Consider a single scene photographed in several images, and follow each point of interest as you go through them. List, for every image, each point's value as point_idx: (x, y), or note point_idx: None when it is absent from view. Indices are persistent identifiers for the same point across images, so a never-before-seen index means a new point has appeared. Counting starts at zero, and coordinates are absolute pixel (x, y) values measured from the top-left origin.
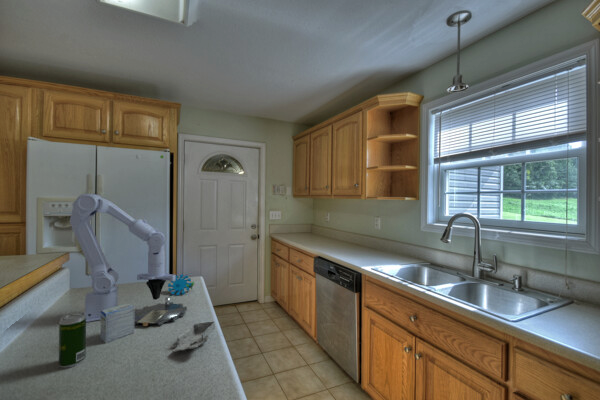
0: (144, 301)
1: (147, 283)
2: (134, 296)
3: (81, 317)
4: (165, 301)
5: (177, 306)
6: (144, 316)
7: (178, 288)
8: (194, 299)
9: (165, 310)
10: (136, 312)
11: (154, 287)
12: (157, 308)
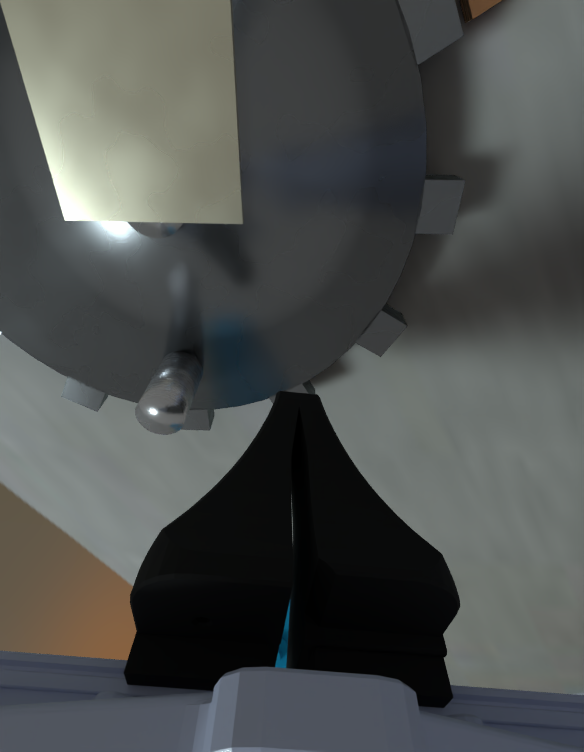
0: (469, 489)
1: (414, 565)
2: (573, 556)
3: None
4: (183, 384)
5: (64, 344)
6: (250, 19)
7: None
8: (113, 510)
9: (87, 217)
10: (423, 174)
11: (270, 496)
12: (237, 296)
